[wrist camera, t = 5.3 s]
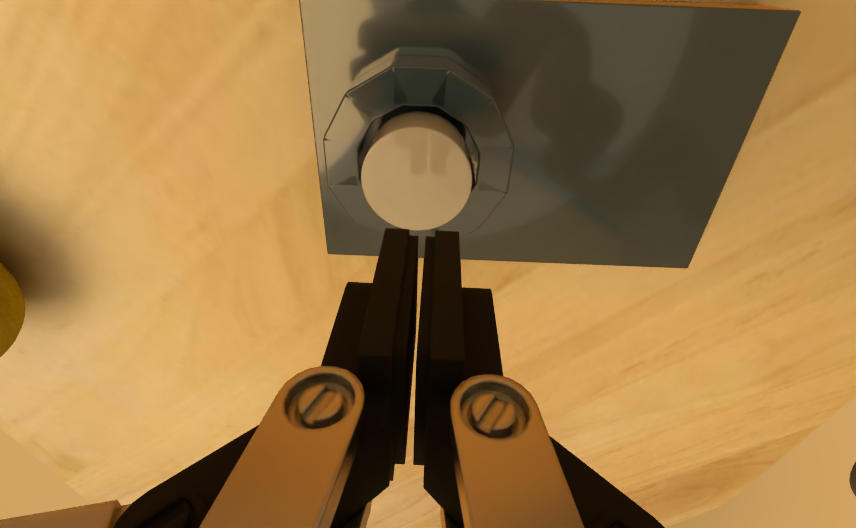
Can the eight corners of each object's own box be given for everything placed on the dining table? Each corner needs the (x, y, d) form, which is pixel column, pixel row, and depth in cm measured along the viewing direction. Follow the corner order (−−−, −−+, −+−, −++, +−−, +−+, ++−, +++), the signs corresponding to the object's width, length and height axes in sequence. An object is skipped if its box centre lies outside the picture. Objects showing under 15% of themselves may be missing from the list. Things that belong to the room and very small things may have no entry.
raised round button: (474, 113, 15) (477, 129, 13) (465, 209, 17) (467, 233, 15) (365, 108, 15) (357, 124, 13) (370, 205, 17) (363, 229, 15)
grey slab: (761, 4, 16) (844, 17, 13) (667, 242, 22) (707, 294, 18) (313, -14, 16) (280, -6, 13) (336, 229, 22) (318, 278, 18)
